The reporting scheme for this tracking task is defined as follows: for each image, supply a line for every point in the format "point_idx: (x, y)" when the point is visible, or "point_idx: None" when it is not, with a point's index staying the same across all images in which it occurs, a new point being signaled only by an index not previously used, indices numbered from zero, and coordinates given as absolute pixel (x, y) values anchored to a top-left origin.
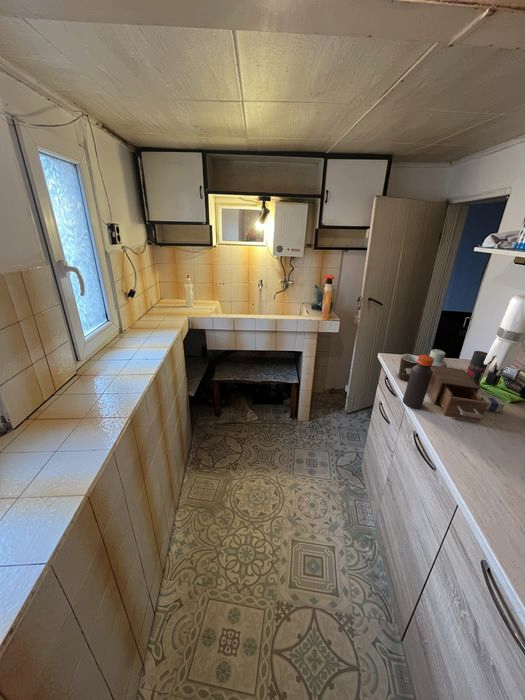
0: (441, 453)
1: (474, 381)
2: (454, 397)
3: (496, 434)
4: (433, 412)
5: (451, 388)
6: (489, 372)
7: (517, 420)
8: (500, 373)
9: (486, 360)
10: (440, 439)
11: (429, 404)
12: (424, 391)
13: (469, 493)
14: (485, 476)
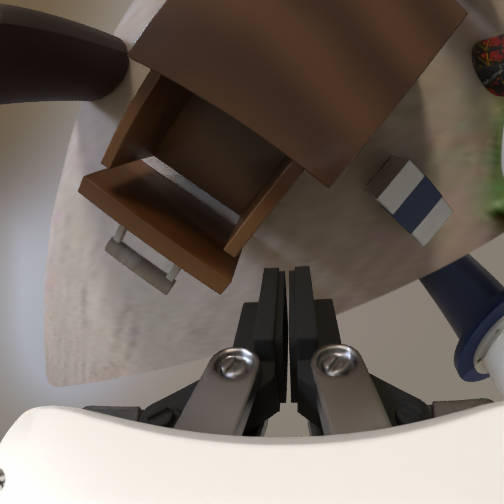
0: (48, 274)
1: (499, 78)
2: (93, 193)
3: (244, 295)
4: None
5: None
6: (214, 365)
7: (404, 281)
8: (307, 418)
9: (2, 465)
10: (66, 243)
11: None
12: (40, 100)
13: (52, 338)
14: (91, 341)
